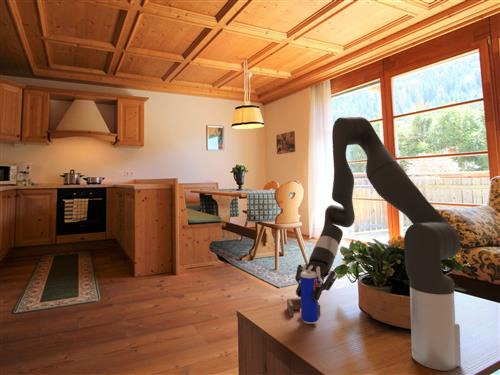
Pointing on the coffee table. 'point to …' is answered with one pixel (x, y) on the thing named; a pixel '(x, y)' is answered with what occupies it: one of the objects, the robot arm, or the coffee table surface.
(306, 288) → the beverage can
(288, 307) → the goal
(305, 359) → the coffee table surface
